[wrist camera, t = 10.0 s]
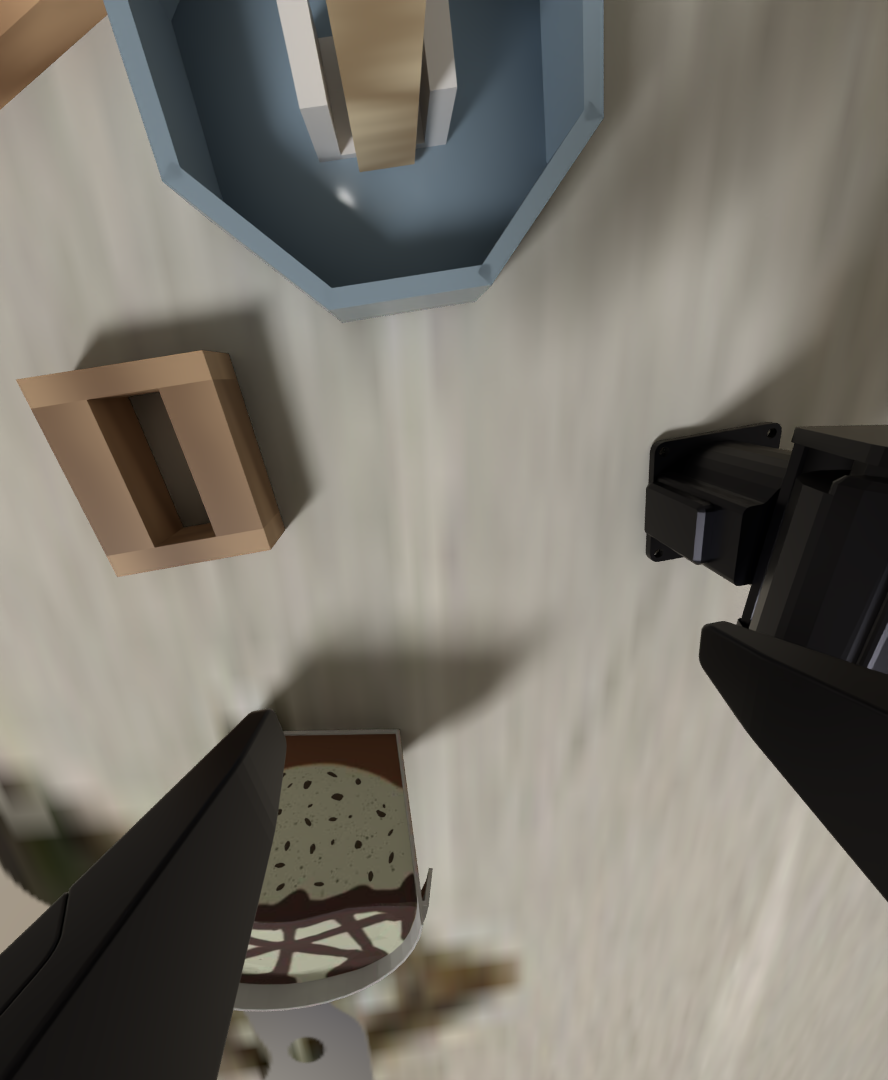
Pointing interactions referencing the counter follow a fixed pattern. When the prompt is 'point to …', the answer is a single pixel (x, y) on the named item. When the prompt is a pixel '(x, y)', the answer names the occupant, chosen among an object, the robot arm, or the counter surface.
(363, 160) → the bar
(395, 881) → the food container
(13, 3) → the tapered wooden plank
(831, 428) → the robot arm
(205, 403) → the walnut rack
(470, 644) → the counter surface
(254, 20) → the blue octagonal bowl
